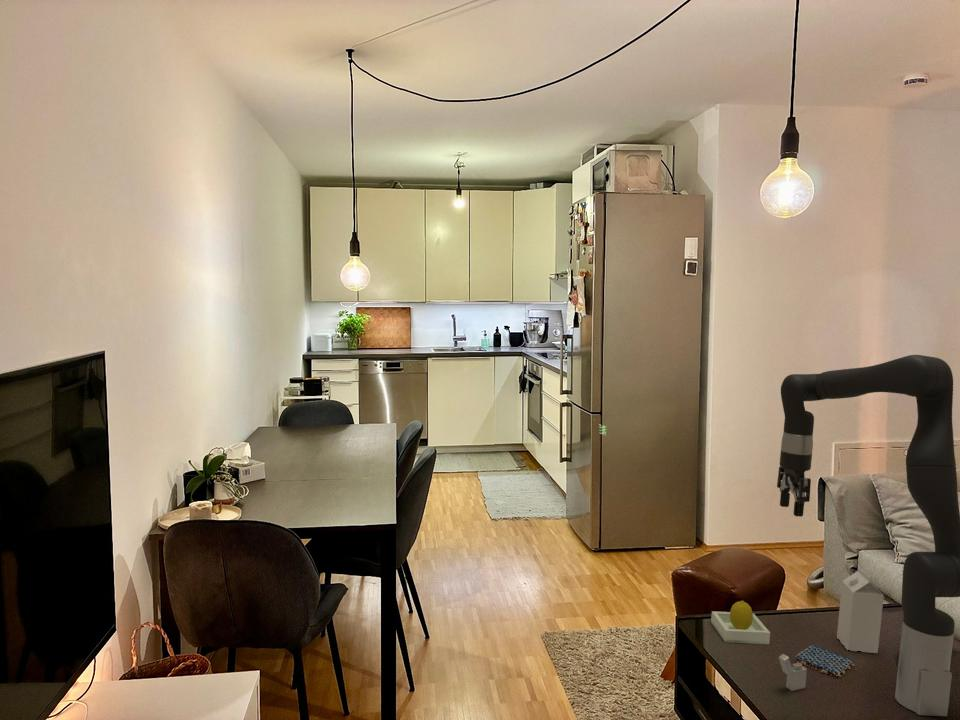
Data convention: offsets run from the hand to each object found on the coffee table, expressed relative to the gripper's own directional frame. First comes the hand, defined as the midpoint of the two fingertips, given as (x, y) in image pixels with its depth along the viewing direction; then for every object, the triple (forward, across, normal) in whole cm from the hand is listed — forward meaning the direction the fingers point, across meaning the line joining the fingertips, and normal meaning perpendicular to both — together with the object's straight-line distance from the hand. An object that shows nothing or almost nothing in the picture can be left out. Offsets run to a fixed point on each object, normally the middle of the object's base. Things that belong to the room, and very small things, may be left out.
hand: (790, 511), depth 191 cm
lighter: (+30, -34, +12) cm, 47 cm away
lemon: (+30, -8, +14) cm, 34 cm away
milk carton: (+30, -12, -14) cm, 35 cm away
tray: (+30, -8, +14) cm, 34 cm away
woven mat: (+31, -22, -1) cm, 38 cm away
